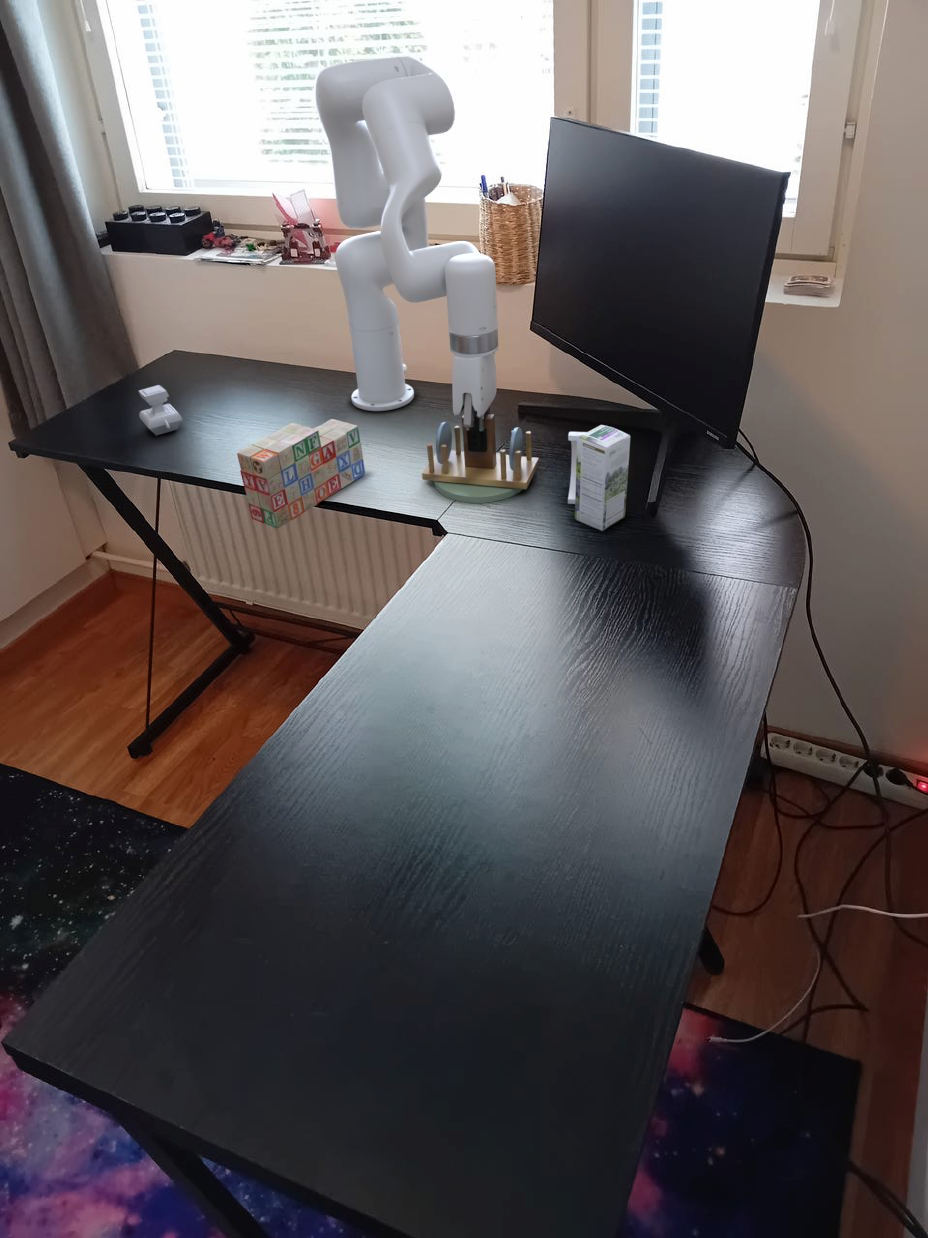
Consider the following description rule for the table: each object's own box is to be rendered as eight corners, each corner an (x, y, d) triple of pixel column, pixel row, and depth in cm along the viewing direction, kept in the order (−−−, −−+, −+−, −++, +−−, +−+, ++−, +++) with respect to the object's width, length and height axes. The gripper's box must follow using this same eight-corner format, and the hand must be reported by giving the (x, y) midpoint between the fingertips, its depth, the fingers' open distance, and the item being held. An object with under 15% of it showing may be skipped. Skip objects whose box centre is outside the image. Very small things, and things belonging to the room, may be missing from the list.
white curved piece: (567, 503, 152) (567, 435, 145) (571, 485, 157) (572, 418, 149) (596, 505, 151) (598, 436, 144) (599, 486, 156) (601, 419, 149)
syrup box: (597, 505, 151) (599, 422, 142) (626, 518, 147) (631, 433, 139) (574, 520, 148) (575, 435, 139) (603, 532, 144) (606, 446, 135)
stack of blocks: (340, 466, 167) (329, 401, 160) (366, 474, 164) (357, 408, 157) (250, 519, 154) (235, 451, 147) (277, 529, 151) (262, 460, 143)
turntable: (450, 454, 168) (450, 448, 168) (538, 461, 164) (538, 455, 163) (422, 498, 156) (421, 491, 155) (515, 507, 152) (515, 500, 151)
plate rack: (422, 479, 158) (416, 423, 152) (438, 455, 165) (434, 400, 159) (526, 489, 153) (525, 431, 147) (539, 463, 160) (538, 408, 154)
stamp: (187, 433, 182) (177, 392, 177) (154, 442, 180) (142, 401, 175) (173, 417, 188) (162, 377, 183) (140, 427, 186) (129, 386, 181)
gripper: (465, 320, 153) (471, 425, 164) (435, 357, 141) (443, 467, 152) (510, 322, 151) (513, 428, 162) (483, 359, 139) (488, 471, 150)
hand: (479, 446), depth 156 cm, fingers closed on plate rack
